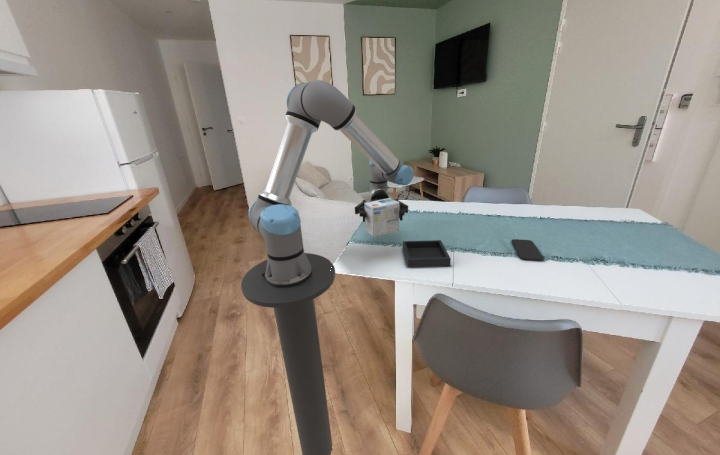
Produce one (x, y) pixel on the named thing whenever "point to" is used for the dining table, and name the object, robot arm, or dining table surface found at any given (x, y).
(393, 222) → the light bulb box
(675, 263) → the dining table surface
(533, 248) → the phone
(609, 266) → the dining table surface
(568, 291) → the dining table surface
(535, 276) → the dining table surface
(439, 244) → the pad
